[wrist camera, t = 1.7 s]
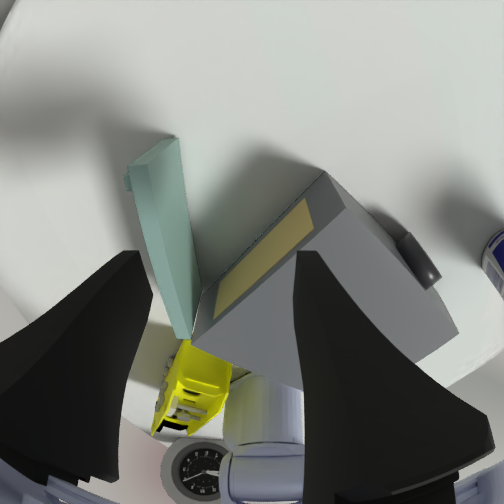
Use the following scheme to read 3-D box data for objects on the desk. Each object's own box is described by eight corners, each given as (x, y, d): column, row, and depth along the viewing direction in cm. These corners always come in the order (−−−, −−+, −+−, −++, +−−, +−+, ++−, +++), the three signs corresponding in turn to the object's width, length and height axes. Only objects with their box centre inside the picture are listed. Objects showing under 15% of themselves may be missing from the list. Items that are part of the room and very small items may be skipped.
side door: (202, 289, 22) (190, 339, 18) (183, 288, 22) (168, 337, 18) (178, 137, 15) (147, 164, 11) (153, 140, 15) (116, 167, 11)
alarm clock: (252, 440, 49) (249, 521, 33) (260, 447, 53) (257, 519, 37) (165, 435, 53) (154, 506, 37) (179, 444, 57) (169, 509, 41)
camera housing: (334, 364, 29) (340, 402, 25) (201, 296, 23) (189, 344, 19) (449, 285, 21) (471, 323, 17) (340, 154, 16) (366, 186, 11)
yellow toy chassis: (182, 326, 26) (164, 403, 19) (236, 343, 27) (229, 419, 20) (157, 385, 35) (145, 436, 28) (195, 396, 36) (187, 447, 29)
